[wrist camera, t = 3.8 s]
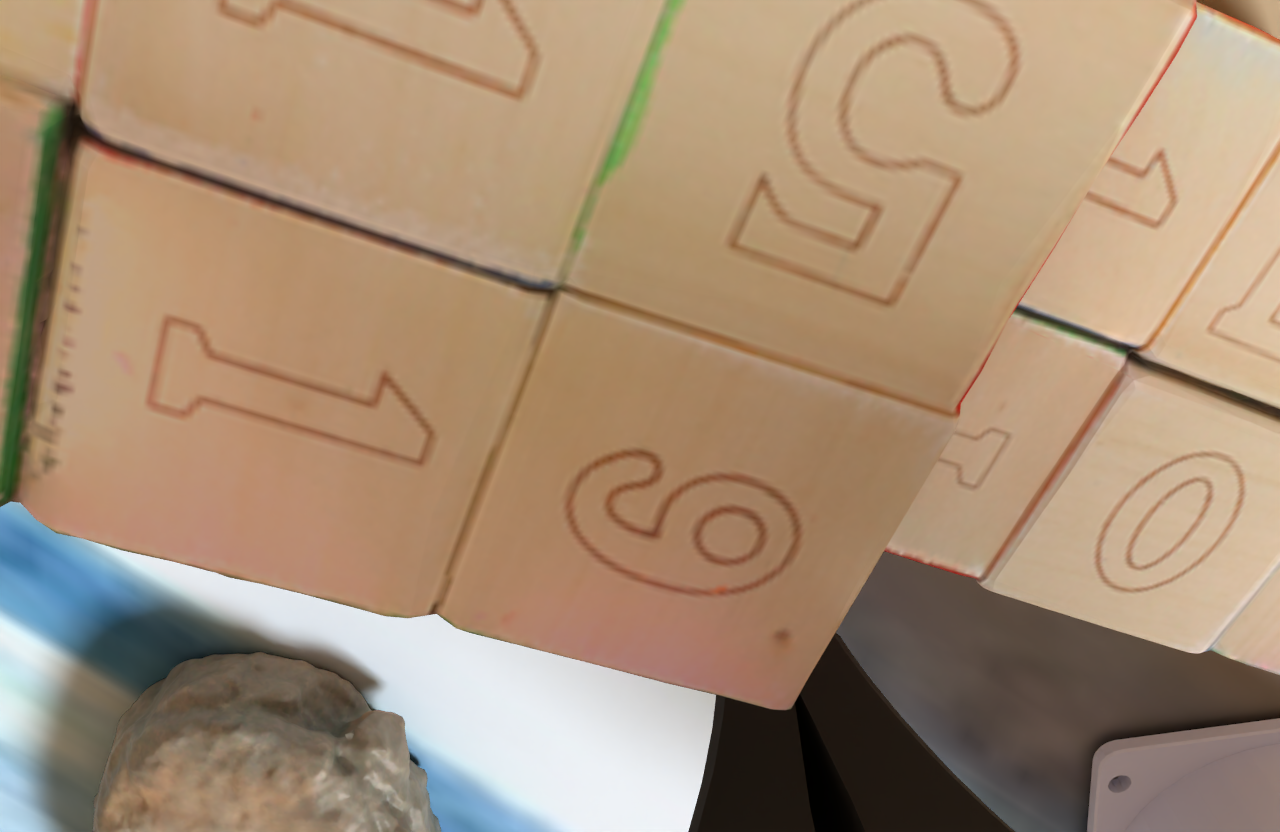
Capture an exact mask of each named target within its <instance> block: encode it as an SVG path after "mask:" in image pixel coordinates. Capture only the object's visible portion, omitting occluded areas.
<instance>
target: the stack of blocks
mask: <svg viewBox="0 0 1280 832" xmlns="http://www.w3.org/2000/svg"><path fill="white" fill-rule="evenodd" d="M10 501H12V502H20V503H21V504H22V505H23V506H24V507H25V508H26V509H27V510H28V511H29V512H30V513H31V514H32V515H33V516H34V518H35V519H36V520H38V521H39V522H41V523H42V524H44V525H45V526H47V527H48V528H50V529H51V530H53V531H54V532H56V533H59V534H64V535H69V536H74V537H79V538H83V539H86V540H89V541H93V542H96V543H99V544H103V545H106V546H109V547H113V548H116V549H119V550H123V551H128V552H132V553H137V554H141V555H146V556H150V557H155V558H160V559H164V560H169V561H173V562H177V563H181V564H185V565H189V566H192V567H196V568H200V569H204V570H208V571H212V572H216V573H219V574H221V575H224V576H227V577H230V578H235V579H240V580H245V581H250V582H255V583H260V584H264V585H269V586H273V587H277V588H281V589H285V590H289V591H293V592H297V593H301V594H305V595H309V596H313V597H316V598H320V599H324V600H328V601H331V602H335V603H339V604H343V605H347V606H350V607H354V608H358V609H362V610H365V611H369V612H372V613H376V614H380V615H383V616H390V617H401V618H412V617H418V616H425V615H431V614H438V615H439V616H440V617H442V618H443V619H444V620H446V621H447V622H448V623H450V624H451V625H453V626H454V627H455V628H457V629H460V630H463V631H466V632H469V633H473V634H477V635H481V636H485V637H489V638H493V639H497V640H501V641H505V642H509V643H513V644H517V645H521V646H525V647H529V648H533V649H537V650H541V651H545V652H549V653H553V654H557V655H561V656H564V657H568V658H572V659H576V660H580V661H584V662H588V663H592V664H596V665H600V666H604V667H608V668H611V669H615V670H619V671H623V672H627V673H630V674H634V675H638V676H642V677H646V678H649V679H653V680H657V681H661V682H665V683H669V684H673V685H677V686H681V687H686V688H690V689H694V690H698V691H703V692H707V693H711V694H716V695H720V696H724V697H728V698H731V699H735V700H739V701H743V702H746V703H750V704H754V705H758V706H761V707H765V708H769V709H773V710H788V709H791V708H792V706H793V705H794V703H795V701H796V699H797V697H798V696H799V694H800V692H801V690H802V689H803V687H804V685H805V683H806V681H807V680H808V678H809V676H810V674H811V673H812V671H813V669H814V668H815V666H816V664H817V663H818V661H819V659H820V658H821V656H822V654H823V653H824V651H825V649H826V648H827V646H828V644H829V643H830V641H831V639H832V638H833V636H834V634H835V632H836V631H837V629H838V627H839V626H840V624H841V622H842V621H843V619H844V617H845V616H846V614H847V612H848V611H849V609H850V607H851V606H852V604H853V602H854V601H855V599H856V597H857V596H858V594H859V592H860V591H861V589H862V587H863V585H864V584H865V582H866V580H867V579H868V577H869V575H870V574H871V572H872V570H873V569H874V567H875V565H876V564H877V562H878V560H879V559H880V557H881V555H882V553H883V552H884V551H885V552H889V553H892V554H895V555H898V556H901V557H904V558H908V559H911V560H914V561H917V562H920V563H923V564H927V565H930V566H933V567H936V568H939V569H942V570H946V571H949V572H952V573H955V574H959V575H963V576H967V577H972V578H975V579H976V581H977V582H978V583H979V584H980V585H981V586H982V587H983V588H985V589H987V590H989V591H991V592H995V593H998V594H1001V595H1004V596H1007V597H1011V598H1014V599H1017V600H1020V601H1023V602H1026V603H1030V604H1033V605H1036V606H1039V607H1042V608H1046V609H1049V610H1052V611H1055V612H1058V613H1062V614H1065V615H1068V616H1071V617H1074V618H1077V619H1081V620H1084V621H1087V622H1090V623H1093V624H1097V625H1100V626H1103V627H1106V628H1110V629H1113V630H1116V631H1119V632H1123V633H1126V634H1129V635H1132V636H1136V637H1139V638H1142V639H1145V640H1149V641H1152V642H1155V643H1158V644H1162V645H1165V646H1168V647H1171V648H1175V649H1178V650H1181V651H1185V652H1188V653H1196V654H1199V653H1202V652H1206V651H1209V650H1212V651H1214V652H1216V653H1218V654H1221V655H1223V656H1225V657H1227V658H1230V659H1232V660H1235V661H1238V662H1241V663H1244V664H1247V665H1250V666H1253V667H1256V668H1259V669H1262V670H1265V671H1268V672H1271V673H1274V674H1278V675H1280V40H1279V39H1277V38H1275V37H1273V36H1271V35H1270V34H1268V33H1266V32H1264V31H1262V30H1260V29H1258V28H1256V27H1253V26H1251V25H1249V24H1247V23H1244V22H1242V21H1240V20H1237V19H1235V18H1233V17H1231V16H1228V15H1226V14H1224V13H1222V12H1219V11H1217V10H1215V9H1213V8H1210V7H1208V6H1206V5H1203V4H1201V3H1199V2H1197V1H1196V0H0V507H1V506H3V505H5V504H7V503H8V502H10Z"/></svg>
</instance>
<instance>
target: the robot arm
mask: <svg viewBox="0 0 1280 832" xmlns="http://www.w3.org/2000/svg"><path fill="white" fill-rule="evenodd" d="M1120 775H1121V776H1120ZM1117 776H1119V777H1118V778H1116V779H1113V778H1114V777H1117ZM1112 779H1113V780H1112ZM689 832H1015V831H1014V830H1013V829H1011V828H1010V827H1009V826H1008V825H1007V824H1006V823H1005V822H1004V821H1003V820H1001V819H1000V818H999V817H998V816H997V815H996V814H995V813H994V812H993V811H992V810H991V809H989V808H988V807H987V806H986V805H985V804H984V803H983V802H982V801H981V800H980V799H979V798H978V797H977V796H976V795H975V794H974V793H973V792H972V791H971V790H970V789H969V788H968V787H967V786H966V785H965V784H964V783H963V782H962V781H961V780H960V779H959V778H958V777H957V776H956V775H955V774H954V773H953V772H952V771H951V770H950V769H949V768H948V767H947V766H946V765H945V764H944V763H943V762H942V761H941V760H940V759H939V758H938V757H937V756H936V755H935V753H934V752H933V751H932V750H931V749H930V748H929V747H928V746H927V745H926V744H925V742H924V741H923V740H922V739H921V738H920V737H919V736H918V735H917V734H916V733H915V731H914V730H913V729H912V728H911V727H910V726H909V725H908V724H907V723H906V721H905V720H904V719H903V718H902V717H901V716H900V714H899V713H898V712H897V711H896V710H895V709H894V707H893V706H892V705H891V704H890V703H889V701H888V700H887V699H886V698H885V696H884V695H883V694H882V693H881V691H880V690H879V689H878V688H877V687H876V685H875V684H874V683H873V682H872V680H871V679H870V678H869V676H868V675H867V674H866V672H865V671H864V670H863V668H862V667H861V666H860V664H859V663H858V662H857V660H856V659H855V658H854V656H853V655H852V653H851V652H850V650H849V649H848V648H847V646H846V645H845V643H844V642H843V640H842V638H841V637H840V636H839V635H838V634H836V633H835V634H834V636H833V638H832V639H831V641H830V643H829V644H828V646H827V648H826V649H825V651H824V653H823V654H822V656H821V658H820V659H819V661H818V663H817V664H816V666H815V668H814V669H813V671H812V673H811V674H810V676H809V678H808V680H807V681H806V683H805V685H804V687H803V689H802V690H801V692H800V694H799V696H798V697H797V699H796V701H795V703H794V705H793V706H792V708H791V709H788V710H773V709H769V708H765V707H761V706H758V705H754V704H750V703H746V702H743V701H739V700H735V699H731V698H728V697H724V696H720V695H716V703H715V711H714V720H713V728H712V734H711V739H710V744H709V749H708V755H707V760H706V765H705V770H704V775H703V780H702V784H701V788H700V792H699V795H698V799H697V803H696V806H695V810H694V814H693V817H692V821H691V825H690V828H689ZM1087 832H1280V718H1278V719H1270V720H1262V721H1255V722H1247V723H1240V724H1232V725H1225V726H1217V727H1210V728H1202V729H1195V730H1187V731H1179V732H1172V733H1164V734H1157V735H1149V736H1142V737H1134V738H1127V739H1119V740H1113V741H1110V742H1107V743H1105V744H1104V745H1102V746H1101V747H1100V748H1099V749H1098V750H1097V751H1096V752H1095V754H1094V757H1093V763H1092V776H1091V788H1090V800H1089V812H1088V824H1087Z"/></svg>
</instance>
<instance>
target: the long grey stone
mask: <svg viewBox="0 0 1280 832" xmlns="http://www.w3.org/2000/svg"><path fill="white" fill-rule="evenodd" d="M426 786H427V774H426V772H425V770H424V769H422V768H419V767H418V766H417V765H416V764H415V763H413V762H412V761H411V760H410V756H409V750H408V746H407V741H406V735H405V722H404V719H403V718H402V717H401V716H399V715H397V714H395V713H392V712H385V711H381V710H374V711H372V710H371V709H370V708H369V707H368V705H367V703H366V700H365V699H364V698H363V696H362V695H361V693H360V692H358V691H357V690H356V689H355V687H354V686H353V684H352V683H350V682H349V681H347V680H344V679H342V678H341V677H339V676H338V675H337V674H336V673H333V672H330V671H327V670H323V669H318V668H316V667H314V666H313V665H311V664H309V663H308V662H306V661H302V660H292V659H287V658H284V657H280V656H275V655H268V654H266V653H263V652H256V653H252V654H241V653H238V654H223V655H217V654H214V655H209V656H206V657H204V658H201V659H190V660H187V661H184V662H182V663H180V664H178V665H177V666H175V667H174V668H173V669H172V670H171V671H170V672H169V674H168V676H167V678H165V679H162V680H161V681H159V682H157V683H155V684H154V685H152V686H150V687H149V688H148V689H147V690H145V692H144V693H143V694H142V695H141V696H140V697H139V699H138V700H137V701H136V702H135V703H134V704H133V706H132V707H131V708H130V709H129V710H128V711H127V712H126V713H124V714H123V715H122V716H121V718H120V720H119V723H118V726H117V732H116V736H115V739H114V741H113V745H112V749H111V752H110V755H109V757H108V760H107V764H106V766H105V769H104V773H103V776H102V780H101V783H100V786H99V791H98V794H97V795H96V796H95V798H94V803H93V804H94V808H95V811H94V821H93V832H441V828H440V825H439V821H438V818H437V817H436V816H435V815H434V814H433V812H432V810H431V808H430V799H429V793H428V791H427V789H426Z"/></svg>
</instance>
